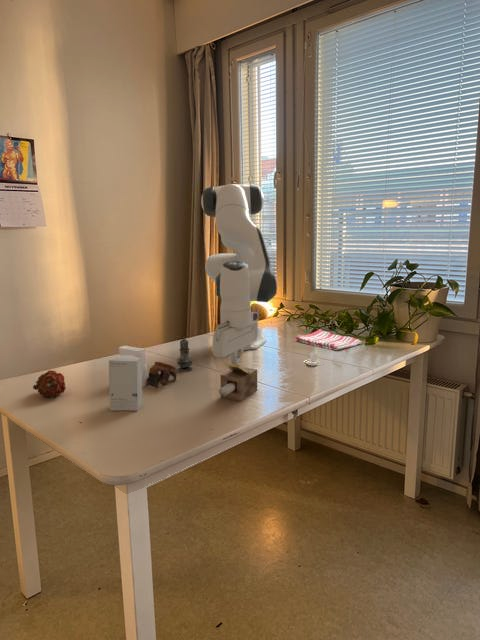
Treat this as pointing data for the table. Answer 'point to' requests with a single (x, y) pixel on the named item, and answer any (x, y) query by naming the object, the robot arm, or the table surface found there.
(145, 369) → the base with upright slab
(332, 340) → the dish towel
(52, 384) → the dragon fruit
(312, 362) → the teacup and saucer
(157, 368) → the brown grey sculpted ring
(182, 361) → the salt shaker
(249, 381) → the hitch block
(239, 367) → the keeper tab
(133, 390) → the skincare box
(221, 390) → the pin
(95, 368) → the table surface
